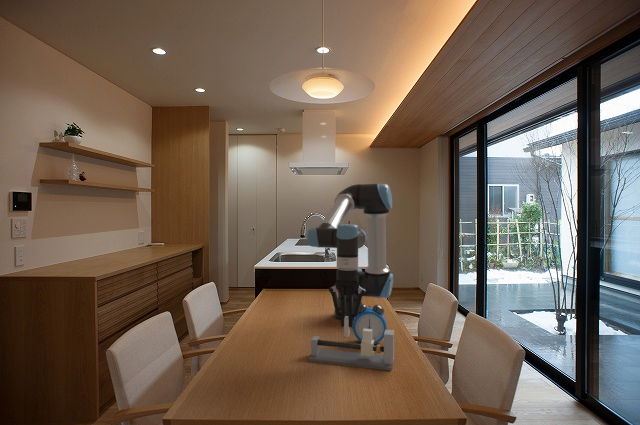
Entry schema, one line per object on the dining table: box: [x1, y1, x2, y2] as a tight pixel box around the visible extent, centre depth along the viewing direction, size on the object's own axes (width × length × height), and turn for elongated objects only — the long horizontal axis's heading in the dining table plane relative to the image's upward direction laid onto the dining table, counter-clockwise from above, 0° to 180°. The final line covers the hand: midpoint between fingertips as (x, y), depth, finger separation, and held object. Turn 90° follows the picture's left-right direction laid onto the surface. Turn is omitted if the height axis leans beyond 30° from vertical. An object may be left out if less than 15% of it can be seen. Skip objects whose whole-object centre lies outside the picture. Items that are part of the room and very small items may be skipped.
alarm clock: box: [352, 303, 388, 345], centre depth 147 cm, size 13×6×15 cm, turn 81°
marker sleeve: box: [360, 329, 375, 357], centre depth 129 cm, size 4×4×8 cm
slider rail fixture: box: [308, 329, 395, 372], centre depth 130 cm, size 10×28×11 cm, turn 75°
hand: (346, 335), depth 131 cm, fingers closed
